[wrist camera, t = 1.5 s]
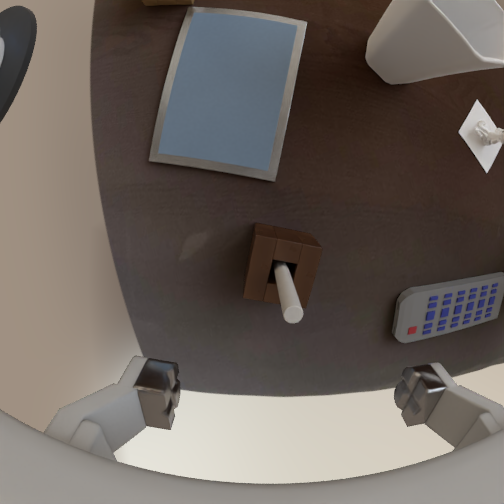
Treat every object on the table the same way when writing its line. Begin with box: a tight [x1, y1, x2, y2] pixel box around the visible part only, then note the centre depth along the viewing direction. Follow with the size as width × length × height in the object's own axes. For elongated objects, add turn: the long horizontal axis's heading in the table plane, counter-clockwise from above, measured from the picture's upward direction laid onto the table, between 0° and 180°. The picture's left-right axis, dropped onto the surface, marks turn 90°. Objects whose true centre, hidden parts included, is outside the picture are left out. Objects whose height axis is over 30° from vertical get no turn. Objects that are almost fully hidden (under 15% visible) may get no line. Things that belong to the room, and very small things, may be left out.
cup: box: [365, 0, 504, 85], centre depth 18 cm, size 11×10×17 cm
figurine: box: [459, 100, 504, 173], centre depth 25 cm, size 8×8×6 cm
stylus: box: [272, 259, 303, 323], centre depth 26 cm, size 1×1×14 cm
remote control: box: [392, 272, 504, 343], centre depth 34 cm, size 8×23×2 cm, turn 94°
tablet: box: [149, 7, 307, 182], centre depth 27 cm, size 14×20×1 cm
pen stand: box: [243, 223, 323, 308], centre depth 30 cm, size 6×6×6 cm
